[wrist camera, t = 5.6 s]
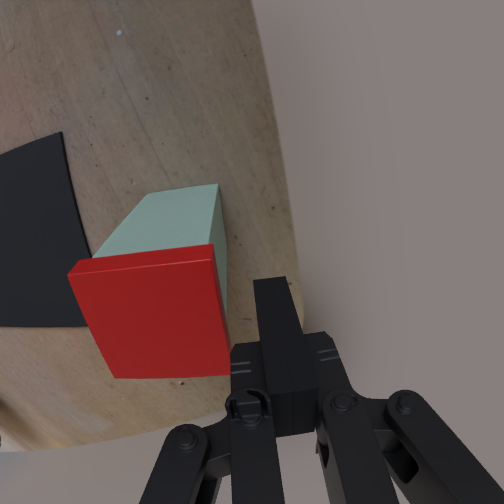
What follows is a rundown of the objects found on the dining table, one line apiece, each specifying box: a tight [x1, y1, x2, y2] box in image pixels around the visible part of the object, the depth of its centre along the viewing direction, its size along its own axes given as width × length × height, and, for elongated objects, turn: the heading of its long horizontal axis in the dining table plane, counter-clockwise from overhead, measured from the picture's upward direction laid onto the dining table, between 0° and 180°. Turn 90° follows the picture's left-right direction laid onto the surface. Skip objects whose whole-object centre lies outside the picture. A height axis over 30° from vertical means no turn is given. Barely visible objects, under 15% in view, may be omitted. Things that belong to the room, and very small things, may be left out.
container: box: [67, 183, 232, 379], centre depth 20 cm, size 7×7×14 cm
